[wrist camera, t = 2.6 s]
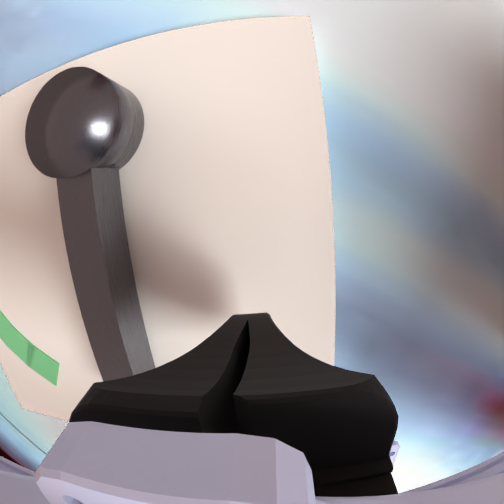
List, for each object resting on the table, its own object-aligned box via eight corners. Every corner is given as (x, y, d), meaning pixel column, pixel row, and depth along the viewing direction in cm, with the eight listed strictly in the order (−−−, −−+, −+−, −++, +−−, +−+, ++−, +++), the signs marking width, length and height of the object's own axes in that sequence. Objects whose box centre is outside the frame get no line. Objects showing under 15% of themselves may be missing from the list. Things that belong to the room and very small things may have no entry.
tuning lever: (64, 99, 11) (26, 87, 8) (142, 74, 11) (113, 51, 8) (116, 390, 14) (95, 423, 11) (187, 394, 14) (175, 433, 11)
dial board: (326, 419, 15) (330, 432, 14) (28, 401, 17) (21, 409, 16) (306, 26, 11) (309, 15, 10) (-33, 125, 12) (-44, 124, 11)
